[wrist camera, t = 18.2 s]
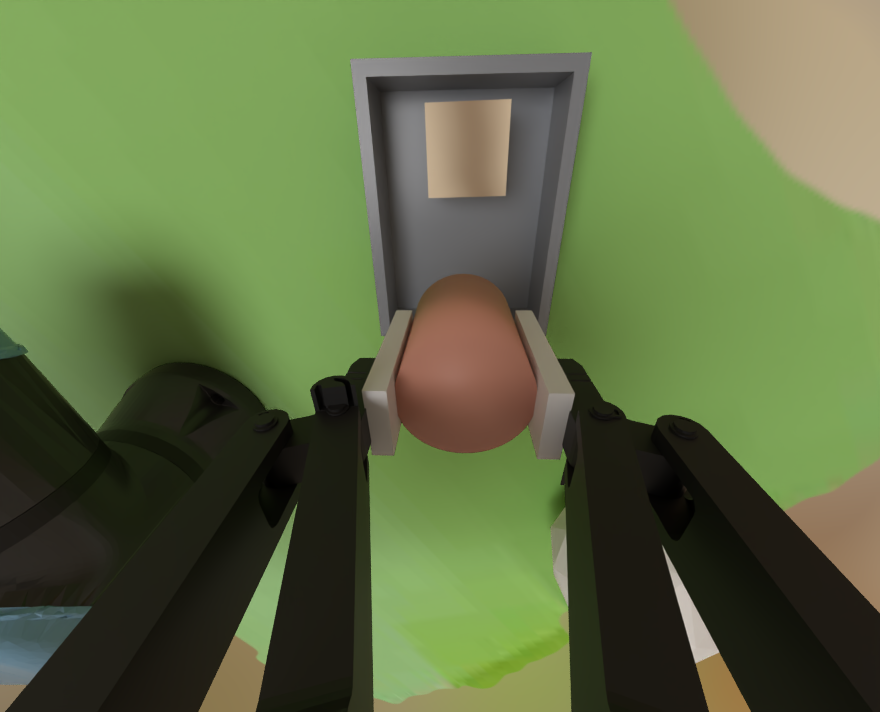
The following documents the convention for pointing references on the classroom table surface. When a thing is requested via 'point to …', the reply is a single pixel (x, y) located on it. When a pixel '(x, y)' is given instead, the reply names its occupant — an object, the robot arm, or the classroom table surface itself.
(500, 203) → the tote
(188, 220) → the classroom table surface
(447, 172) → the wooden cube
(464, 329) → the red cylinder
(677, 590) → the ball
